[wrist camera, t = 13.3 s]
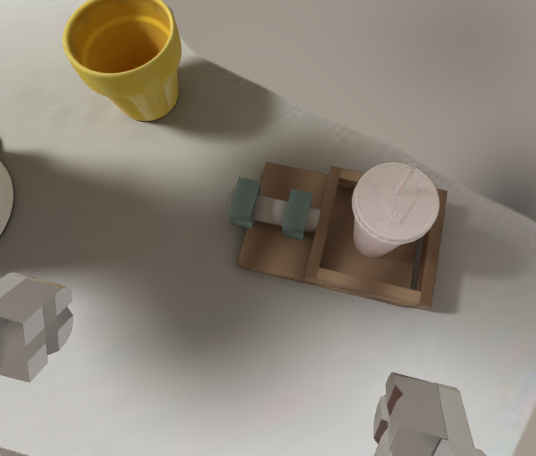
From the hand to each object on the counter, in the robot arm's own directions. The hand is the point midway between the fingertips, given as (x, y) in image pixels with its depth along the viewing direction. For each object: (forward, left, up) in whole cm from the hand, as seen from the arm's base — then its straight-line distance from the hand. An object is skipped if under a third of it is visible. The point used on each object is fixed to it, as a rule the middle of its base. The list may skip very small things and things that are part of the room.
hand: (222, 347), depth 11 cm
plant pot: (-20, +25, -30) cm, 44 cm away
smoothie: (+7, +14, -29) cm, 33 cm away
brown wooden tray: (+3, +14, -30) cm, 34 cm away
